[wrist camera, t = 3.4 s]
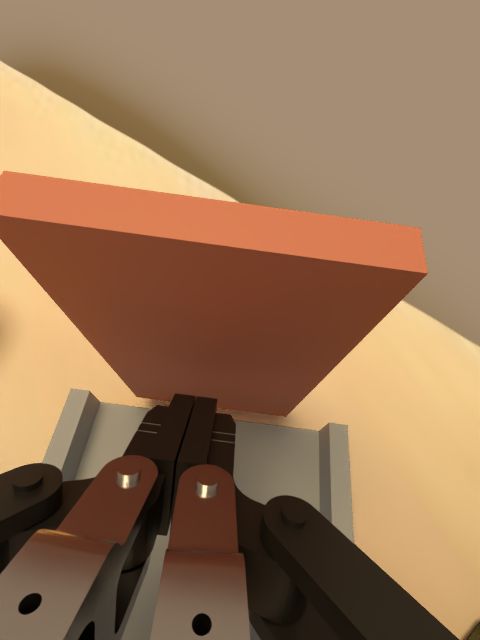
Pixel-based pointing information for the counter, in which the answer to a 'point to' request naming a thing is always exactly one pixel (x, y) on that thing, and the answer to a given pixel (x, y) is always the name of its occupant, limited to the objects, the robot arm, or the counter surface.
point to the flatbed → (249, 472)
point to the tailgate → (208, 285)
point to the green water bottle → (475, 634)
